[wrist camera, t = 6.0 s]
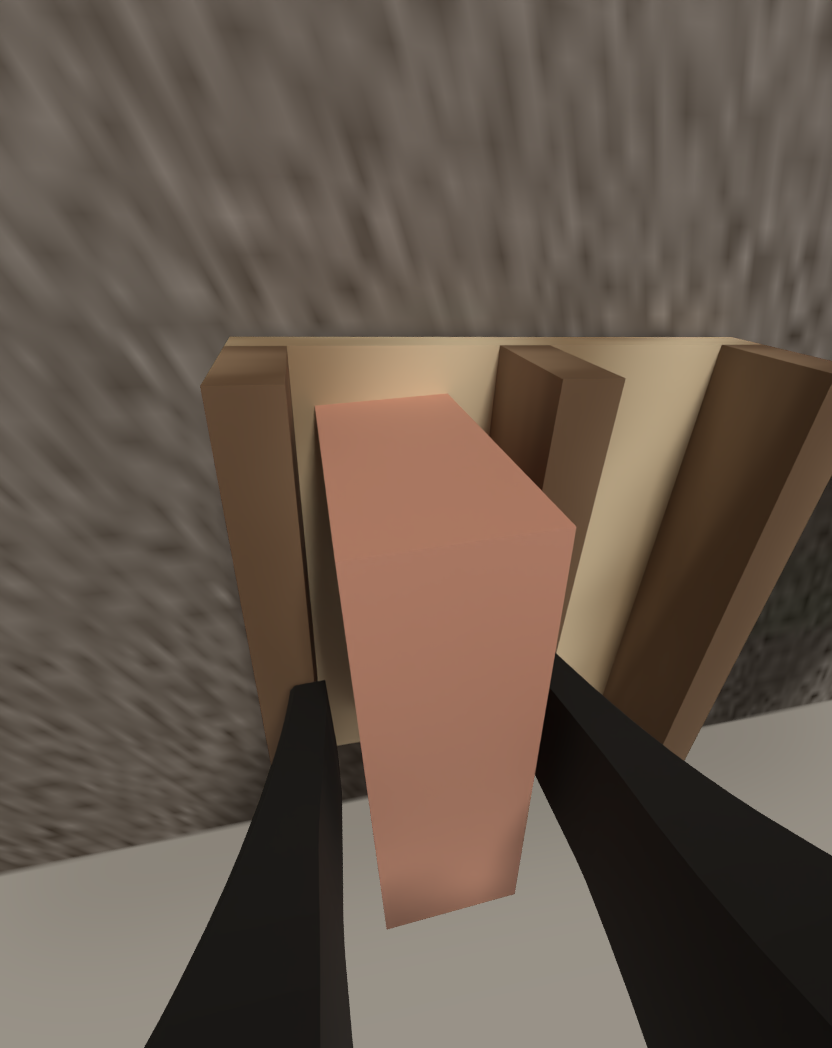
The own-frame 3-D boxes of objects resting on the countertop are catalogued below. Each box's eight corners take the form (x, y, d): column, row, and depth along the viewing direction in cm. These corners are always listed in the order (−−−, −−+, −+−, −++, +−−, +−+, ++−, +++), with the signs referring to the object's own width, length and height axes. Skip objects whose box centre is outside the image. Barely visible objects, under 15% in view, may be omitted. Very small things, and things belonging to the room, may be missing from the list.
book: (447, 393, 11) (576, 526, 6) (445, 689, 16) (514, 893, 11) (314, 405, 11) (334, 562, 6) (356, 707, 16) (386, 929, 11)
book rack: (732, 337, 13) (884, 373, 10) (613, 676, 20) (680, 768, 16) (229, 337, 10) (200, 385, 7) (287, 728, 17) (286, 849, 14)
